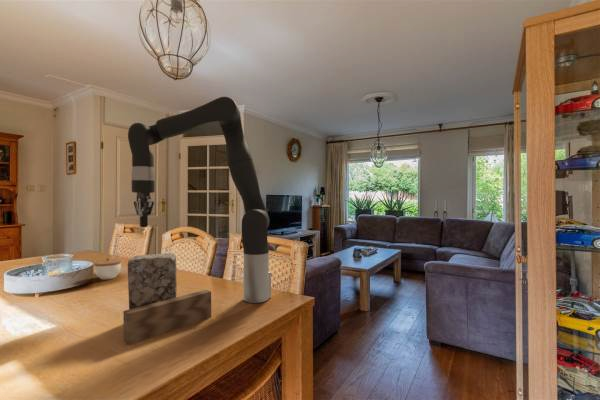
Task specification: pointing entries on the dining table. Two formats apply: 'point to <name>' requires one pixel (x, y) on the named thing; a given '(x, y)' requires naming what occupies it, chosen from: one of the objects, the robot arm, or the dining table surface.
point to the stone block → (151, 279)
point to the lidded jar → (107, 268)
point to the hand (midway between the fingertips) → (143, 226)
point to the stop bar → (165, 316)
